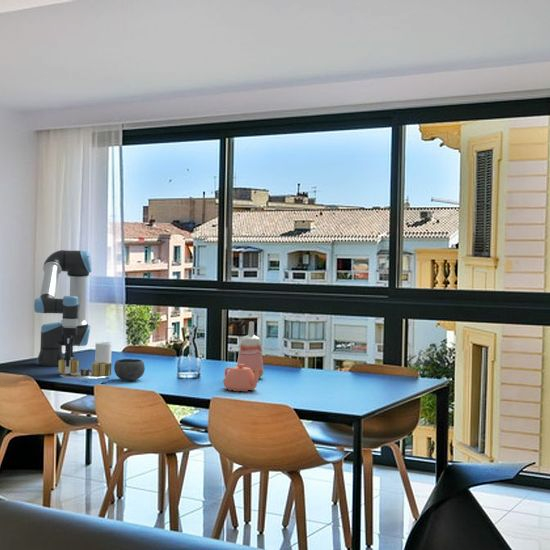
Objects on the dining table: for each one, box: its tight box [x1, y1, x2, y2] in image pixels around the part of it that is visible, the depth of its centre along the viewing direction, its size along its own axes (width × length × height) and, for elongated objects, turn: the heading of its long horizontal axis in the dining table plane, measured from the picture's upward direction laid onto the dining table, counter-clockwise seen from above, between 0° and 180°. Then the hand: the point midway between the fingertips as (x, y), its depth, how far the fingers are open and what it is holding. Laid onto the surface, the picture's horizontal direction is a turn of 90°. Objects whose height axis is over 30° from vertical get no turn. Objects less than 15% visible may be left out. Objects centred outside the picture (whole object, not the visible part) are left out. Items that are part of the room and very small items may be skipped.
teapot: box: [222, 364, 262, 392], centre depth 372 cm, size 22×16×12 cm
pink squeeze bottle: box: [236, 321, 264, 378], centre depth 412 cm, size 14×14×30 cm
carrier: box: [59, 367, 110, 383], centre depth 393 cm, size 24×24×6 cm
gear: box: [57, 358, 80, 374], centre depth 392 cm, size 10×10×6 cm
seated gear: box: [90, 361, 112, 378], centre depth 395 cm, size 10×10×6 cm
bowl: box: [113, 358, 146, 382], centre depth 391 cm, size 15×15×10 cm
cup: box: [94, 341, 113, 364], centre depth 411 cm, size 8×8×16 cm
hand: (68, 371), depth 392 cm, fingers closed on gear, 10 cm apart
